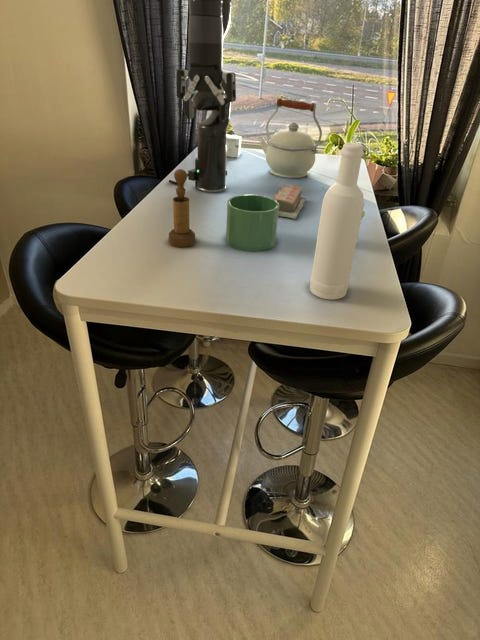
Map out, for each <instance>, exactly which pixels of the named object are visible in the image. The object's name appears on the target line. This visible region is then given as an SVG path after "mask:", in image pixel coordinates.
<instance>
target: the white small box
mask: <svg viewBox="0 0 480 640" xmlns="http://www.w3.org/2000/svg"><path fill="white" fill-rule="evenodd" d="M241 151H242V136H241V135H233V134H232V135H231V134H227V152H226V157H231V158H239V157H240V156H241V153H242V152H241Z"/></svg>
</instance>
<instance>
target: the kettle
mask: <svg viewBox="0 0 480 640" xmlns="http://www.w3.org/2000/svg"><path fill="white" fill-rule="evenodd" d="M281 107H284V108H288V109H293V110H299V111H310V112H312V118H313V120H314V123H315V125H316V127H317V129H318V131H319V137H318V140H317V142H316V143H315V141H314V138H313V137H312V135H311V134H309V132H306V131H304V130H300V126H299V124H298V123H296V122H295V121H293V122H291V123H289V125H288V128H287V129H281V130H278V131H276V132H274V133H273V134H272V136H271V134H270V130H269V126H270V123H271V120H272V119H273V118H274V117H275V116H276V114H277V113H278V111H279V109H280V108H281ZM316 110H317V103H314V102H312V103H309V102H305V101H299V100H292V99H283V98H277V99H276V107H275V111H274V112H273V113H272V115H271V116H270V117H269V119H268V120H267V122H266V124H265V132H266V136H267V137H266V138H267V141H266V139H265V138H264V136H258V140H259V142H260V146H261V149H262V151H263V153H264V155H265V162H266V164H267V166H268V167H269V168H270V170H269V171H270V173H271V174H272V175H274V176H276V177H280V178H284V179H301V178H305V177H307V175H308V174H309V171H310V170H311V169H312V168H313V167H314V165H315V163H316V153H318V149H317V148H318V146H319V145H320V142H321V140H322V137H323V136H322V135H323V130H322V128H321V125H320V123H319V121H318V119H317V117H316Z"/></svg>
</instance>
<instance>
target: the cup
mask: <svg viewBox="0 0 480 640" xmlns="http://www.w3.org/2000/svg"><path fill="white" fill-rule="evenodd" d="M272 198H273V197H269V196H265V195H259V194H239V195H235V196H234V195H233V196H232V197H230V198H228V199H227V201H226V227H225V229H226V230H225V241H226V243H227V245H229V246H231V247H232V248H234V249H237V250H239V251H240V250H241V251H246V252H261V251H262V252H263V251H267V250H270V249H272V248H273V247H274V246H275V245H276V242H277V235H278V224H279V217H280V216H279V203H278V202H277V201H276V200H274V199H272Z"/></svg>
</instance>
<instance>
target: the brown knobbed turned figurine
mask: <svg viewBox="0 0 480 640" xmlns="http://www.w3.org/2000/svg"><path fill="white" fill-rule="evenodd" d="M187 174H188V172H187V171H186V170H185V169H182V168H179V169H177V170H175V171H174V173H173V178H174V181H175V182H177V184H178V185H177V188H175V192H176V195H177V196H175V197H173V198H172V209H173V211H172V212H173V228H172V229H171V230H170V231H169V232H168V243H169V245H170V246H172V247H176V248H189V247H192V246H193V245H195V244H196V232H194V231H193V230H192V229H191V228H190V224H191V223H190V198H189V197H187V196H186V191H187V189H186V188H185V183H186V181H187V179H188V177H187Z"/></svg>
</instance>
